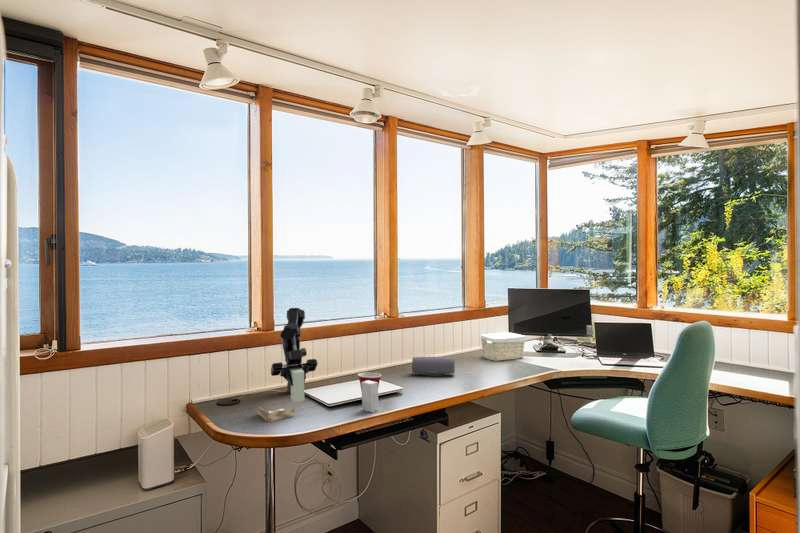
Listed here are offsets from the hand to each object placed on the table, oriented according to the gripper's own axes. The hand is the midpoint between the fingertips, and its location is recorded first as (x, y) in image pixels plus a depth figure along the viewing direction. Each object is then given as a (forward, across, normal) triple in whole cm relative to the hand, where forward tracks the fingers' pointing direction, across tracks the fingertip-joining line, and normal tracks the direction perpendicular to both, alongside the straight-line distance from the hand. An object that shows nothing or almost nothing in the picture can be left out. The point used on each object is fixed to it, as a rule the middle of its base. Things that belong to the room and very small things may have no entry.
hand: (298, 384), depth 198 cm
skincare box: (+15, +28, +3) cm, 32 cm away
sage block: (+4, 0, +6) cm, 7 cm away
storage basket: (-25, +144, +43) cm, 152 cm away
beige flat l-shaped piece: (+6, -8, +12) cm, 15 cm away
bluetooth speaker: (-13, +83, +31) cm, 89 cm away
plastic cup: (+6, +34, +12) cm, 36 cm away
